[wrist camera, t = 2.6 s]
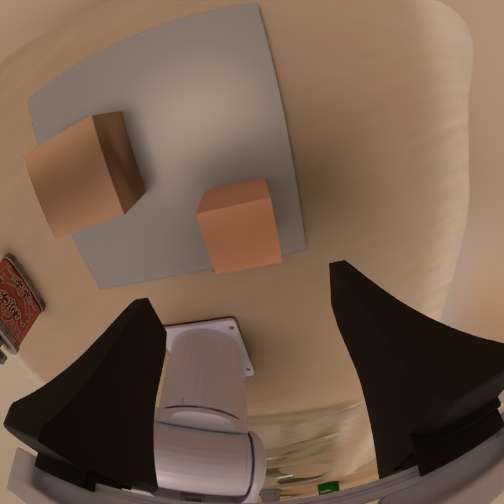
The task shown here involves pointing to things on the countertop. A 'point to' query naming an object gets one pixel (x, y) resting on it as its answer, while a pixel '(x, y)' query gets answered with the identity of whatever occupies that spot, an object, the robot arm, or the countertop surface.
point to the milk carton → (328, 488)
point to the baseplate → (180, 137)
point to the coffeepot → (270, 495)
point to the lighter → (16, 305)
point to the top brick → (239, 227)
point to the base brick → (86, 174)
